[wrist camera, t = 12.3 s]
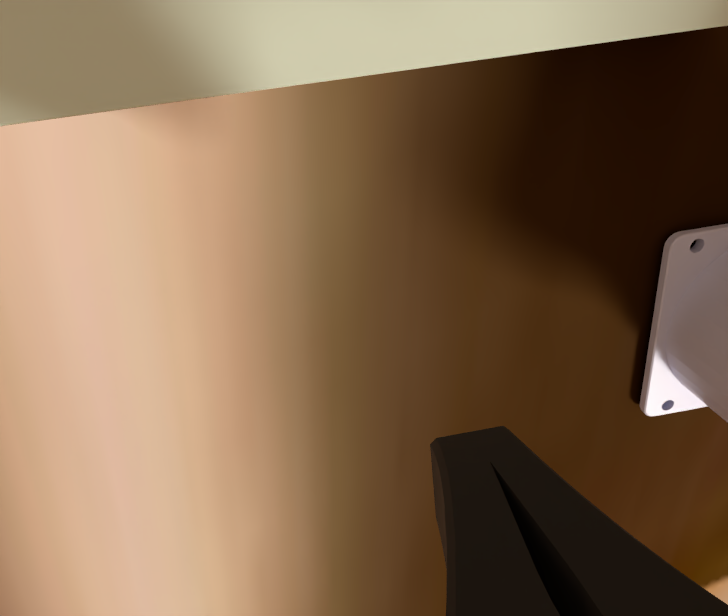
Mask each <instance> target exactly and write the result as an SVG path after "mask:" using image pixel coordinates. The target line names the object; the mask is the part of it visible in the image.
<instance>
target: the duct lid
mask: <svg viewBox="0 0 728 616" xmlns="http://www.w3.org/2000/svg"><path fill="white" fill-rule="evenodd" d="M720 26H728V0H0V126H5V125H12V124H20V123H27V122H34V121H41V120H48V119H56V118H63V117H70V116H77V115H85V114H92V113H99V112H106V111H113V110H121V109H128V108H135V107H142V106H150V105H157V104H164V103H171V102H179V101H186V100H193V99H200V98H207V97H215V96H222V95H229V94H236V93H244V92H251V91H258V90H265V89H272V88H280V87H287V86H294V85H301V84H309V83H316V82H323V81H330V80H337V79H345V78H352V77H359V76H366V75H374V74H381V73H388V72H395V71H403V70H410V69H417V68H424V67H431V66H439V65H446V64H453V63H460V62H468V61H475V60H482V59H489V58H496V57H504V56H511V55H518V54H525V53H533V52H540V51H547V50H554V49H561V48H569V47H576V46H583V45H590V44H598V43H605V42H612V41H619V40H627V39H634V38H641V37H648V36H655V35H663V34H670V33H677V32H684V31H692V30H699V29H706V28H713V27H720Z"/></svg>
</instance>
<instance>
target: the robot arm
mask: <svg viewBox="0 0 728 616" xmlns="http://www.w3.org/2000/svg"><path fill="white" fill-rule="evenodd" d="M694 240H696V243H695V245H694V246H693V247H692V248H690V246H691V244H692V242H693V241H694ZM665 401H666V402H665ZM664 402H665V403H664ZM663 403H664V404H663ZM706 406H708V407H710V408H711V409H712V410H713V411H714V412H716V413H717V414H718V415H719V416H720V417H722V418H723V419H724V420H725V421H726V422H728V224H722V225H716V226H710V227H704V228H698V229H691V230H685V231H679V232H676V233H674V234H672V235H671V236H670V237H669V238H668V239H667V241H666V242H665V245H664V249H663V255H662V262H661V268H660V275H659V281H658V288H657V294H656V301H655V308H654V314H653V321H652V327H651V334H650V340H649V347H648V353H647V360H646V366H645V373H644V379H643V386H642V392H641V399H640V409H641V410H642V411H643V412H644V413H645V414H646V415H648V416H658V415H663V414H669V413H674V412H679V411H685V410H690V409H696V408H701V407H706ZM430 447H431V459H432V472H433V484H434V497H435V509H436V518H437V522H438V527H439V531H440V535H441V540H442V546H443V551H444V556H445V562H446V568H447V603H446V616H728V605H727V604H726V603H724V602H723V601H721V600H720V599H718V598H717V597H715V596H714V595H712V594H711V593H709V592H708V591H706V590H705V589H704V588H702V587H701V586H699V585H698V584H696V583H695V582H694V581H692V580H691V579H689V578H688V577H687V576H685V575H684V574H682V573H681V572H680V571H678V570H677V569H675V568H674V567H673V566H671V565H670V564H669V563H667V562H666V561H665V560H663V559H662V558H661V557H659V556H658V555H657V554H655V553H654V552H653V551H651V550H650V549H649V548H647V547H646V546H645V545H643V544H642V543H641V542H639V541H638V540H637V539H635V538H634V537H633V536H632V535H630V534H629V533H628V532H626V531H625V530H624V529H623V528H621V527H620V526H619V525H618V524H616V523H615V522H614V521H613V520H611V519H610V518H609V517H608V516H606V515H605V514H604V513H603V512H602V511H600V510H599V509H598V508H597V507H596V506H594V505H593V504H592V503H591V502H590V501H588V500H587V499H586V498H585V497H583V496H582V495H581V494H580V493H579V492H577V491H576V490H575V489H574V488H573V487H572V486H570V485H569V484H568V483H567V482H566V481H565V480H564V479H562V478H561V477H560V476H559V475H558V474H557V473H556V472H555V471H553V470H552V469H551V468H550V467H549V466H548V465H547V464H545V463H544V462H543V461H542V460H541V459H540V458H539V457H538V456H537V455H536V454H534V453H533V452H532V451H531V450H530V449H529V448H528V447H527V446H526V445H525V444H524V443H523V442H521V441H520V440H519V439H518V438H517V437H516V436H515V435H514V434H513V433H512V432H511V431H510V430H508V429H507V428H506V427H504V426H500V427H495V428H489V429H484V430H478V431H473V432H467V433H462V434H456V435H451V436H446V437H440V438H436V439H435V440H434V441H433V442H432V443H431V444H430Z"/></svg>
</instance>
